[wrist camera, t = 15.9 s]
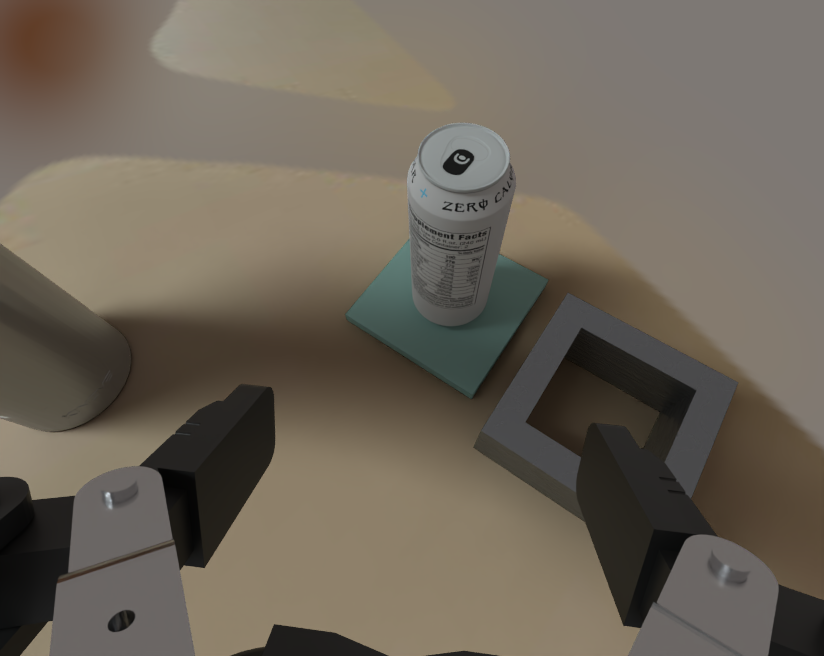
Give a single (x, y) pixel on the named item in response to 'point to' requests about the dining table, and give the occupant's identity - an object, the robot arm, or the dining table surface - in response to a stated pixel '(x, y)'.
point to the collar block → (627, 370)
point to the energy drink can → (457, 219)
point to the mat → (447, 345)
